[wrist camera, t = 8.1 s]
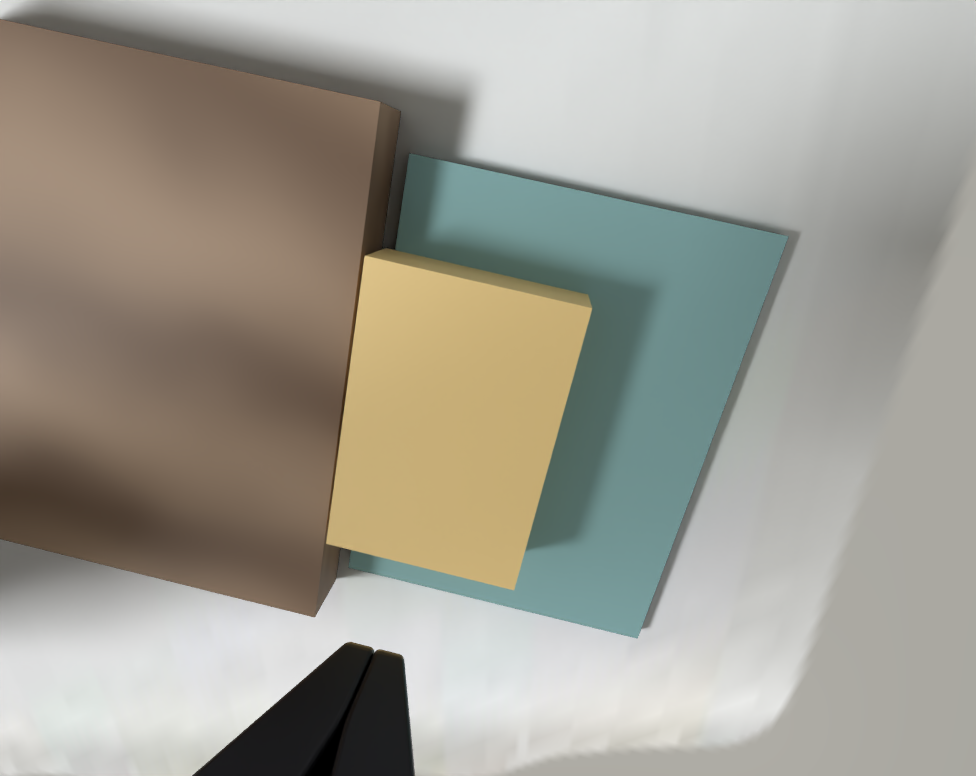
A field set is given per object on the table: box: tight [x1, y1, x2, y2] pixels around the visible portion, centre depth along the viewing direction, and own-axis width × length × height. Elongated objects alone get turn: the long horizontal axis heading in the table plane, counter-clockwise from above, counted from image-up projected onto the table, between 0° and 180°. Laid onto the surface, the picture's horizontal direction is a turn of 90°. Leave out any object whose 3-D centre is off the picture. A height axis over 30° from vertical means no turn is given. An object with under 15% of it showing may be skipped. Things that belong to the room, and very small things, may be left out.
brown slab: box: [0, 19, 401, 617], centre depth 18 cm, size 16×12×2 cm
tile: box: [326, 248, 592, 590], centre depth 17 cm, size 9×6×2 cm, turn 168°
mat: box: [349, 153, 789, 638], centre depth 18 cm, size 14×10×1 cm
